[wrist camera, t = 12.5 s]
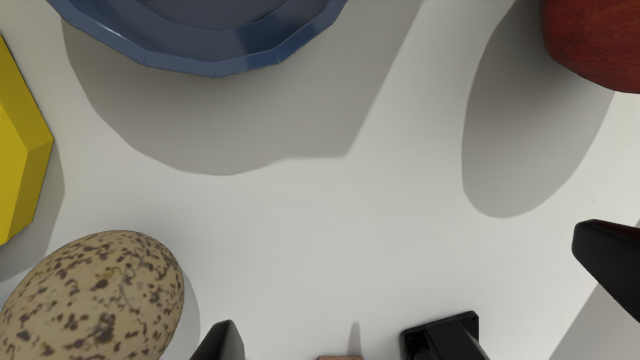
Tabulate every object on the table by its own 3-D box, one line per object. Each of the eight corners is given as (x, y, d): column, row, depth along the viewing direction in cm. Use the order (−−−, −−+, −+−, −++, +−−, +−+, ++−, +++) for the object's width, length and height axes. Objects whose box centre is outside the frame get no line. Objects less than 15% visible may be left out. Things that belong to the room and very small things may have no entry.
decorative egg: (189, 200, 19) (111, 345, 9) (205, 294, 21) (158, 477, 12) (56, 209, 18) (-172, 379, 9) (91, 306, 20) (-53, 513, 11)
